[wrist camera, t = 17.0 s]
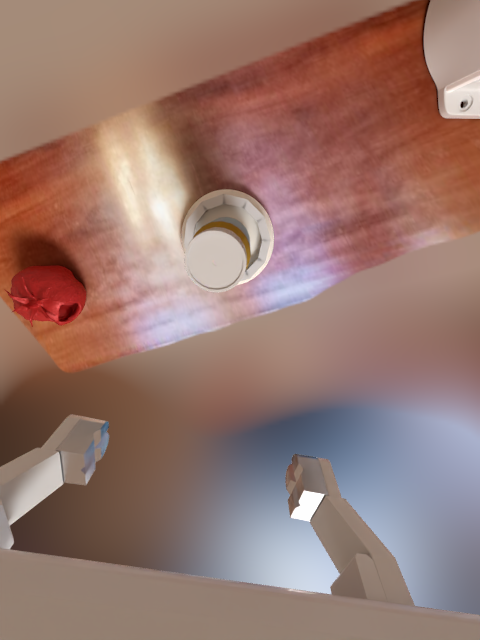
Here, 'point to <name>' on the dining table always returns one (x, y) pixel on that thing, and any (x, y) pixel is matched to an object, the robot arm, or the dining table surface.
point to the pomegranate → (47, 294)
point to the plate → (241, 210)
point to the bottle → (218, 255)
